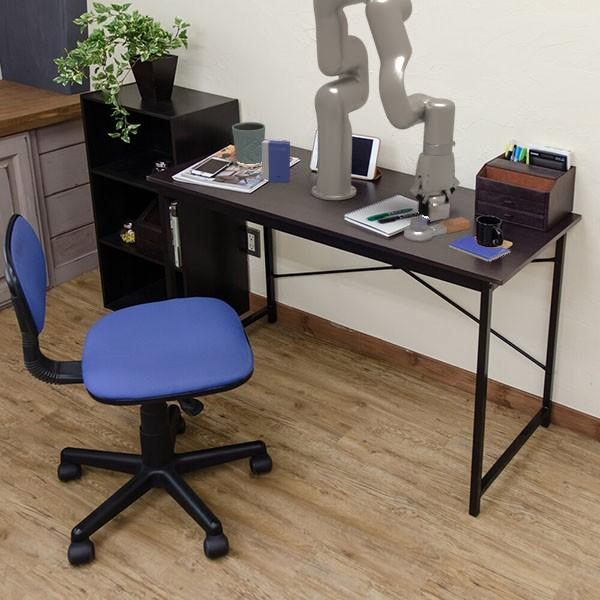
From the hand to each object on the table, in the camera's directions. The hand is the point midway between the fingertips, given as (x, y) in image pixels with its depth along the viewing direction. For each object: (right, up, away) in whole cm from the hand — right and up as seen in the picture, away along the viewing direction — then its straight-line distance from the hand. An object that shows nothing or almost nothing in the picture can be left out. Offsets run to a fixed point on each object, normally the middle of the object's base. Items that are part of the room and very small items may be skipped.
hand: (433, 213), depth 246 cm
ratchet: (-1, -6, -10) cm, 12 cm away
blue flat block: (+8, -12, -20) cm, 24 cm away
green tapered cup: (-51, +19, +41) cm, 68 cm away
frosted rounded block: (0, -1, 0) cm, 1 cm away
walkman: (-42, +12, +27) cm, 51 cm away
